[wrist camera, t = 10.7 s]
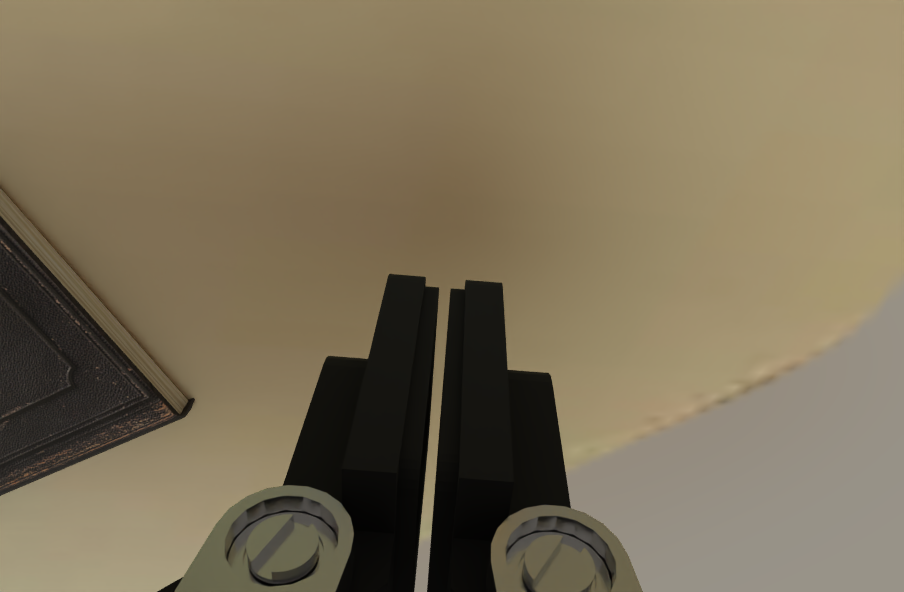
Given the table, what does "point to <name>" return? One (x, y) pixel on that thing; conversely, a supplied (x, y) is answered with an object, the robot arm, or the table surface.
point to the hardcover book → (65, 364)
